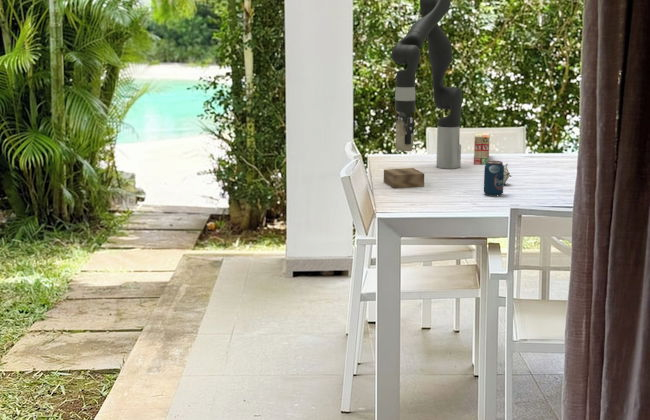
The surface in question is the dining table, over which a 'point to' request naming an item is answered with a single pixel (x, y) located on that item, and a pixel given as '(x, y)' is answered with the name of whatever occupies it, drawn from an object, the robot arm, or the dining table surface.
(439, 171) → the dining table surface
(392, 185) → the walnut block
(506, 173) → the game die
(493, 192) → the soda can
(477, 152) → the cardboard product box
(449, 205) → the dining table surface
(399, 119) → the robot arm
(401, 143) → the carving
